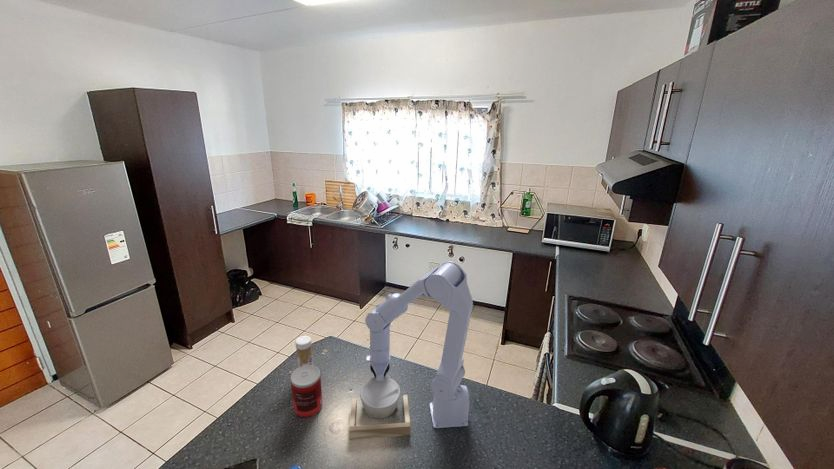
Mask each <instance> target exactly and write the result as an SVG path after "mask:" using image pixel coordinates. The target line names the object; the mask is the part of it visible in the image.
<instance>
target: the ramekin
mask: <svg viewBox="0 0 834 469" xmlns="http://www.w3.org/2000/svg"><path fill="white" fill-rule="evenodd" d="M400 396H401V389H400V386H399V384H398V382H396V380H394V379H392V378H391V377H388V376H385V377H384V381H376V377H375V376H374V377H372V378H370V379H368V380H366V381H364V383H363V384H362V386H361V388H360V390H359V397H360V398H359V399H360V401H361V403H362V404H361V405H362V408H363V411H364V412H365V414H366V415H368V416H369V417H371V418H374V419H384V418H388V417H389V416H391V415H392V414H393V413H394V412H395V410H397V409H396V408H397V407H398V403H399V399H400Z"/></svg>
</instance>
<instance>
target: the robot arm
mask: <svg viewBox="0 0 834 469" xmlns="http://www.w3.org/2000/svg"><path fill="white" fill-rule="evenodd" d="M467 279H468V278H467V273H466V272H465V271H464V269H463V268H462V267H461V265H460V264H458V263H457V262H454V261H452V260H449V261H445V262H443V263H442V264H441V265H440V267H439V266H437V267H435V268H433V269H432V270H430V271H429V272H427V273H425V274H423V275H422V276H421V277H420V278H419V279H418V280H417V281H415V282H413V284H411V285H410V286H409V287H408V288H407V289H406V290H405V291H403V292H402V293H398V292H397V293H393V294H392V293H389V294H388V295H387V296H386V297H385V300H384V301H383V302H382V303H381V302H379V303H378V304H376V305H375V308H374V309H373V310H371V311H370V312H368V313H367V315H366V316H365V325H366V327H367V328H368V329H369V353H370V354H369V355H366V357H365V358H366V359H365V361H366V362H367V363H370V365H369V366H370V372H371V373H372V374H373V376H374V377H376V381H384V377H387V376H386V375H387V374H388V372H389V371H390V368H391V367H390V366H391V365H390V362H391V354H390V350H391V349H390V346H391V344H390V343H391V341H390V339H391V338H390V336H391V334H390V333H391V332H390V331H391V323H392V322H393V321H395V320H397V319H398V318H399V317H400V316H402V315H404V314H405V313H406V312H407V311H408V308H409V304H410V303H412V302H414V300H416V299H417V298H419V297H421V296H422V295H424V296H425V297H426V298H430V297H432V299H434V300H435V301H436V302H438V303H439V304H440V305H441V306H443V307H445V308H446V309H447V310H448V311H449V316H448V320H447V326H446V331H445V332H446V333H445V337H444V343H443V349H442V355H441V361H440V364H439V365H438V369H437V371H436V373H435V374H436V375H435V376H434V379H433V380H432V381H431V383H430V390H431V392H432V394H433V401H432V402H429V410H430V417H431V422H432V426H433V428H434V429H443V428H457V427H469V422H468V421H469V412H470V393H469V390H468V387H467V385H463V384H461V381H462V379H463V378H464V376H465V374H466V369H465V365H464V364H465V363H464V361H465V360H464V359H463V356H464V352H465V351H464V350H465V345H466V340H467V335H468V331H469V325H470V322H471V316H472V313H473V312H472V310H473V306H474V301H473V298H472V295H471V291H470V288H469V285H468V283H467Z"/></svg>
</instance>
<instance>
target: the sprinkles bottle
mask: <svg viewBox="0 0 834 469" xmlns="http://www.w3.org/2000/svg"><path fill="white" fill-rule="evenodd" d="M294 342H295V349H296V358H297V360H296V361H297V366H298V367H297V368H299V367H301V366H305V365H313V366H314V359H313V351H312V344H313V343H312V338H311V337H310V336H308V335H301V336H299V337H297V338H296V339H295V341H294Z"/></svg>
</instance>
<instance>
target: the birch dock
mask: <svg viewBox="0 0 834 469" xmlns="http://www.w3.org/2000/svg"><path fill="white" fill-rule="evenodd" d="M402 407H403V408H402V409H403V420H404V422H395V423H392V422H391V423H381V424H370V425H369V424H367V425H356V424H357V409H358V399H357V397H352V398H351V407H350V408H351V409H350V418H349V428H348V429H349V431H348V434H349V435H348V436H349V437H348V438H349V441H352V440H353V441H354V440H365V439H377V438H389V437H391V438H392V437H401V436H402V437H403V436H411V419H410V418H411V417H410V409H409V401H408V394H403V395H402Z"/></svg>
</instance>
